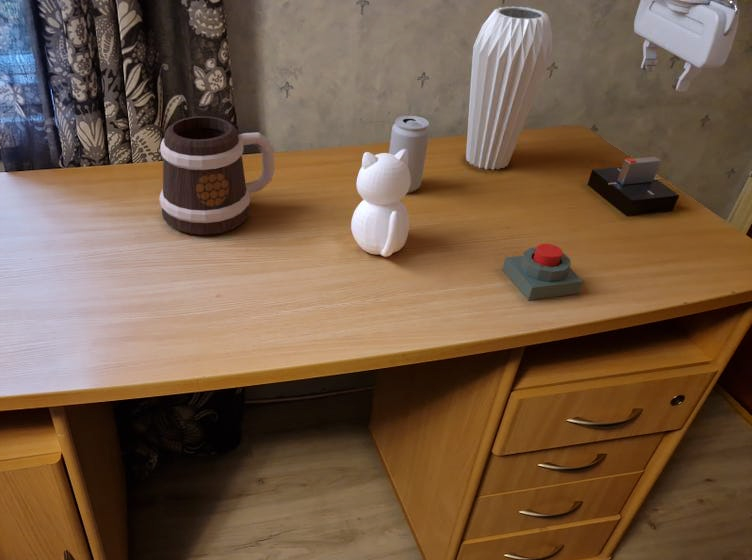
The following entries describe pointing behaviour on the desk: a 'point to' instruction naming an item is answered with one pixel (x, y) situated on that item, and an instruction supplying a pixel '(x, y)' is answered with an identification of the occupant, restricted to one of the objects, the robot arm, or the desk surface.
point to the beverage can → (411, 145)
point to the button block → (541, 276)
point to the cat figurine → (382, 203)
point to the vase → (505, 81)
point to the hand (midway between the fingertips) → (662, 79)
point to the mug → (208, 175)
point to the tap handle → (638, 170)
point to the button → (548, 255)
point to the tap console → (632, 193)
